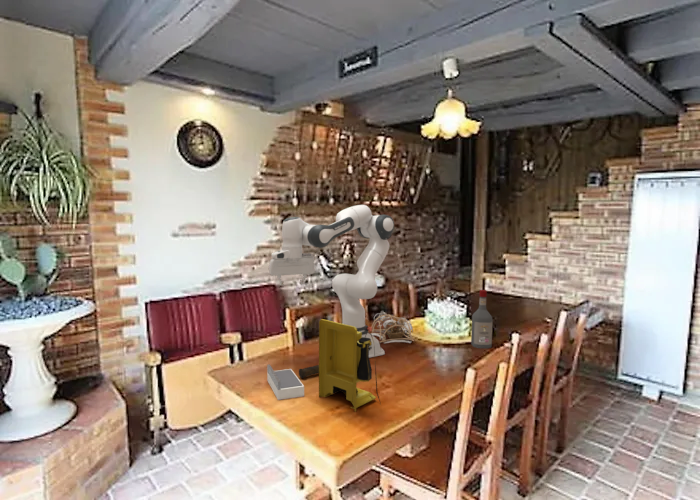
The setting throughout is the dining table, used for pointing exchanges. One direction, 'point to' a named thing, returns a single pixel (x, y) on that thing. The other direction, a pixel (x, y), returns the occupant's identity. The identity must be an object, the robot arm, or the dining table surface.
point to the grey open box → (284, 383)
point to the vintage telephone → (344, 362)
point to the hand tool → (308, 371)
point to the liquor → (482, 324)
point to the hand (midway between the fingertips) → (292, 284)
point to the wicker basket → (392, 328)
